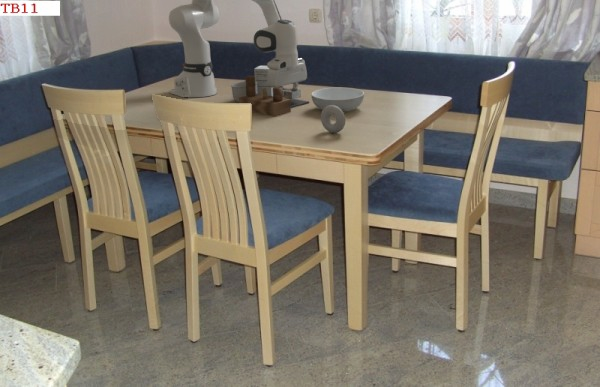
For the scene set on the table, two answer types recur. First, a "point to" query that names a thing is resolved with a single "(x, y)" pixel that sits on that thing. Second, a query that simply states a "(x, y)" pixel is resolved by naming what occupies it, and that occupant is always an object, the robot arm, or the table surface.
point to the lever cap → (291, 93)
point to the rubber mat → (297, 102)
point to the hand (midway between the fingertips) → (288, 94)
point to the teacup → (240, 90)
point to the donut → (338, 115)
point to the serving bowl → (338, 98)
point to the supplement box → (262, 80)
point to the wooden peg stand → (265, 99)
